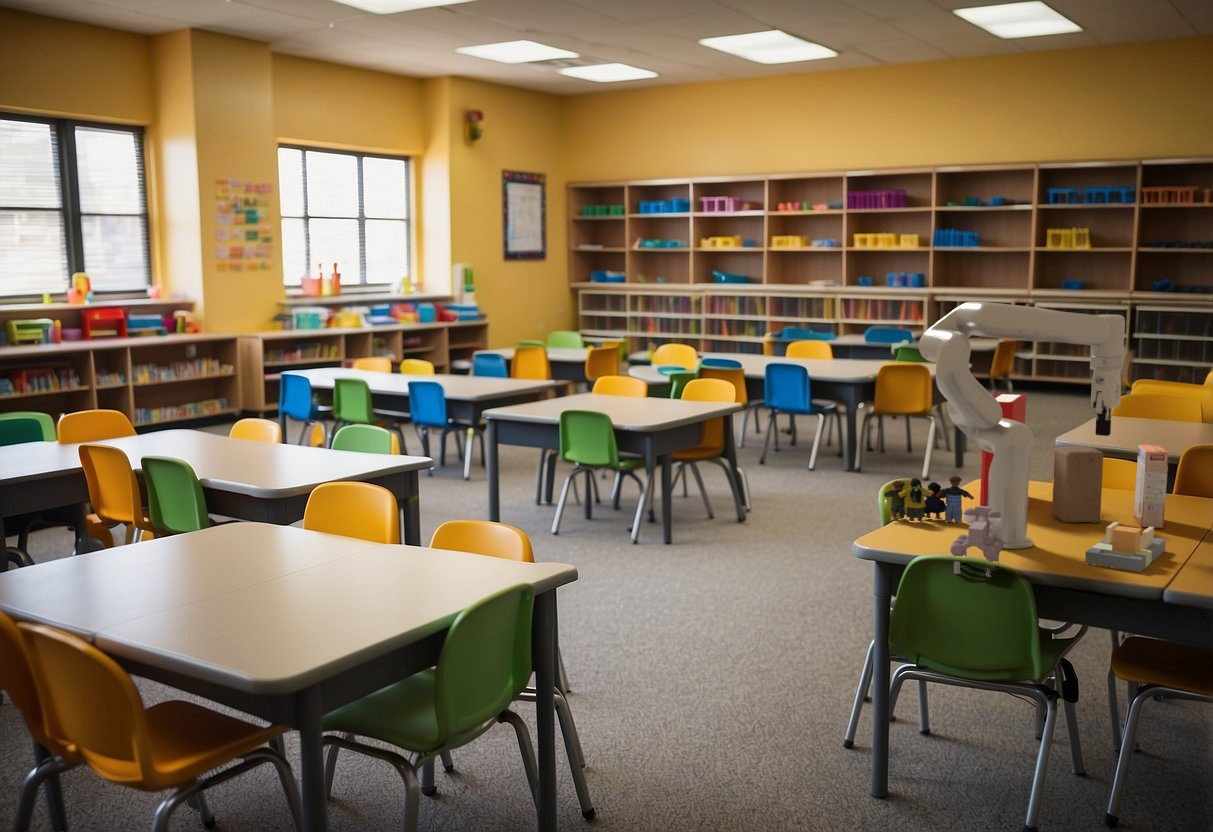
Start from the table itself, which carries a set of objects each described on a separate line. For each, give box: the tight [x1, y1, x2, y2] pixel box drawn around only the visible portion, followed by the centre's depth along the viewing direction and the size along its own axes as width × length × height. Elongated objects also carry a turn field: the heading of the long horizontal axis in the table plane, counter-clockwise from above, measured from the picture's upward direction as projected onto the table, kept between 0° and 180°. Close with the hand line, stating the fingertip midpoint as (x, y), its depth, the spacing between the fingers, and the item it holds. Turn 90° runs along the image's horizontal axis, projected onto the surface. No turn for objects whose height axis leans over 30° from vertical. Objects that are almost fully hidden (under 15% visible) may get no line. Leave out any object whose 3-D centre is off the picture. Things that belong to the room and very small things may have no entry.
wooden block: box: [1051, 445, 1104, 523], centre depth 299 cm, size 10×10×20 cm
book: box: [979, 391, 1027, 507], centre depth 321 cm, size 27×8×32 cm, turn 151°
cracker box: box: [1133, 443, 1170, 530], centre depth 294 cm, size 14×6×21 cm, turn 161°
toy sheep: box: [949, 505, 1004, 578], centre depth 254 cm, size 20×11×14 cm, turn 153°
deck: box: [1084, 521, 1167, 573], centre depth 260 cm, size 24×12×7 cm, turn 141°
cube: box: [1112, 525, 1142, 554], centre depth 256 cm, size 5×5×5 cm
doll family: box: [883, 475, 975, 524], centre depth 300 cm, size 23×9×13 cm, turn 92°
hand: (1102, 434), depth 276 cm, fingers closed
